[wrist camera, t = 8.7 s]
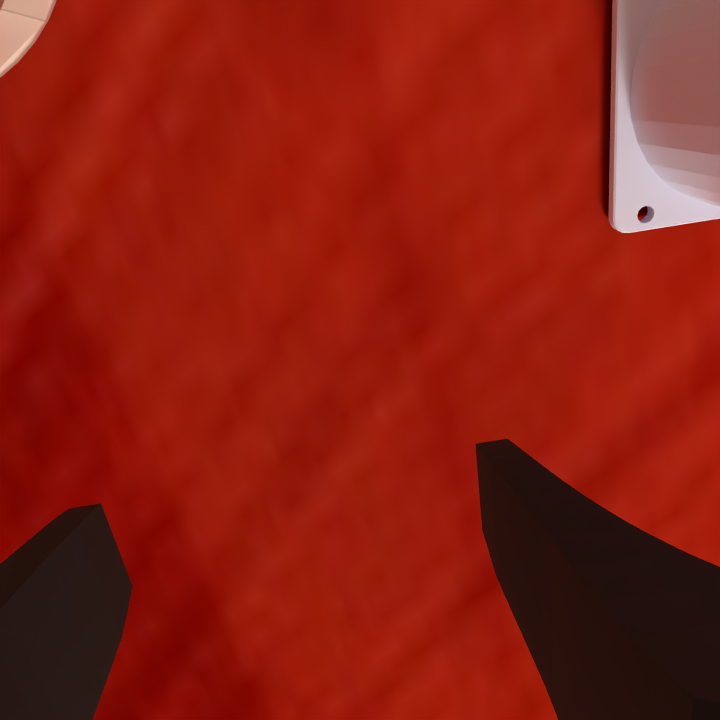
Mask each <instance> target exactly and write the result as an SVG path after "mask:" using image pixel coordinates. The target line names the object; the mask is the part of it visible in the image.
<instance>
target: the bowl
mask: <svg viewBox="0 0 720 720" xmlns="http://www.w3.org/2000/svg"><path fill="white" fill-rule="evenodd" d="M56 1H57V0H5V1H4V3H3V6H2V8H1V10H0V78H1V77H2V76H3V75H4V74H5V73H6V72H8V71H9V70H10V69H11V68H12V67H13V66H15V65H16V64H17V63H18V62H19V61H20V60H21V59H22V57H23V56H24V55H25V54H26V53H27V51H28V50H29V49H30V48H31V47H32V45H33V44H34V43H35V42H36V40H37V38H38V37H39V35H40V33H41V32H42V30H43V28H44V27H45V25H46V23H47V22H48V20H49V18H50V16H51V13H52V11H53V8H54V6H55V4H56Z"/></svg>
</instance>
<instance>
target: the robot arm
mask: <svg viewBox="0 0 720 720" xmlns="http://www.w3.org/2000/svg"><path fill="white" fill-rule="evenodd" d="M644 206H647V208H648V213H647V216H646V217H645V218H644V219H642V220H640V221H639V220H638V217H637V215H638V211H639V210H640V209H641V208H642V207H644ZM719 218H720V0H613V3H612V59H611V115H610V171H609V222H610V225H611V226H612V227H613V228H614V229H616V230H618V231H620V232H622V233H631V232H637V231H643V230H650V229H656V228H662V227H669V226H675V225H681V224H688V223H694V222H700V221H706V220H713V219H719ZM476 455H477V468H478V480H479V493H480V505H481V517H482V530H483V533H484V537H485V540H486V543H487V547H488V550H489V553H490V557H491V560H492V563H493V566H494V569H495V573H496V576H497V578H498V581H499V583H500V585H501V588H502V590H503V592H504V594H505V597H506V599H507V601H508V603H509V606H510V608H511V610H512V613H513V615H514V617H515V619H516V621H517V624H518V626H519V628H520V630H521V633H522V635H523V637H524V639H525V642H526V644H527V646H528V648H529V651H530V653H531V655H532V657H533V659H534V662H535V664H536V666H537V668H538V671H539V673H540V675H541V677H542V680H543V682H544V684H545V687H546V689H547V692H548V694H549V697H550V699H551V702H552V704H553V707H554V709H555V712H556V715H557V718H558V720H720V567H719V566H716V565H714V564H711V563H709V562H707V561H704V560H702V559H699V558H697V557H695V556H693V555H691V554H688V553H686V552H684V551H682V550H680V549H678V548H676V547H674V546H672V545H670V544H668V543H666V542H664V541H662V540H660V539H658V538H656V537H654V536H652V535H650V534H648V533H646V532H644V531H642V530H640V529H639V528H637V527H635V526H633V525H631V524H630V523H628V522H626V521H624V520H623V519H621V518H619V517H618V516H616V515H614V514H613V513H611V512H609V511H608V510H606V509H605V508H603V507H601V506H600V505H598V504H596V503H595V502H593V501H592V500H590V499H589V498H587V497H586V496H584V495H583V494H581V493H580V492H578V491H577V490H575V489H574V488H572V487H571V486H570V485H568V484H567V483H565V482H564V481H562V480H561V479H560V478H558V477H557V476H556V475H554V474H553V473H552V472H550V471H549V470H548V469H546V468H545V467H544V466H542V465H541V464H540V463H538V462H537V461H536V460H534V459H533V458H532V457H531V456H529V455H528V454H527V453H525V452H524V451H523V450H522V449H520V448H519V447H518V446H516V445H515V444H514V443H512V442H511V441H510V440H508V439H503V440H497V441H490V442H484V443H478V444H476ZM131 590H132V584H131V581H130V578H129V576H128V573H127V571H126V568H125V565H124V563H123V560H122V557H121V555H120V552H119V550H118V547H117V544H116V542H115V539H114V537H113V534H112V531H111V529H110V526H109V524H108V521H107V518H106V516H105V513H104V510H103V508H102V505H101V504H95V505H89V506H82V507H76V508H70V509H68V510H67V511H65V512H64V513H62V514H61V515H59V516H58V517H57V518H56V519H54V520H53V521H52V522H50V523H49V524H48V525H47V526H45V527H44V528H43V529H42V530H41V531H39V532H38V533H37V534H36V535H34V536H33V537H32V538H31V539H30V540H28V541H27V542H26V543H25V544H24V545H23V546H21V547H20V548H19V549H18V550H17V551H15V552H14V553H13V554H12V555H11V556H9V557H8V558H7V559H6V560H5V561H3V562H2V563H1V564H0V720H92V719H93V717H94V714H95V711H96V708H97V706H98V703H99V700H100V697H101V695H102V692H103V689H104V686H105V684H106V681H107V678H108V675H109V672H110V669H111V667H112V664H113V661H114V658H115V655H116V652H117V650H118V647H119V644H120V641H121V638H122V634H123V629H124V625H125V620H126V616H127V611H128V606H129V601H130V596H131Z"/></svg>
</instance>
